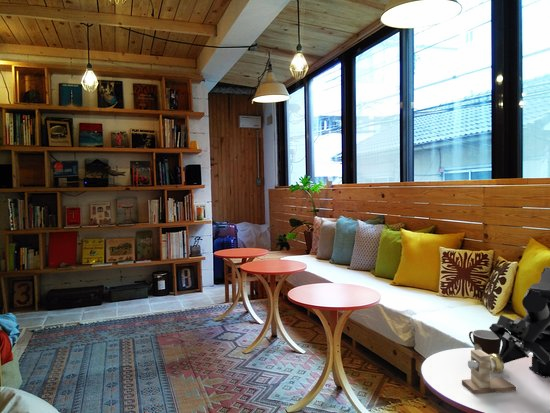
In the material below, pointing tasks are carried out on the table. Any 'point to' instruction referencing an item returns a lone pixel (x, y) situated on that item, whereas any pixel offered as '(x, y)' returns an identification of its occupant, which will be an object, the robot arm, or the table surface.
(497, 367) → the shaft
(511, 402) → the table surface
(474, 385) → the bearing stand
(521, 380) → the table surface
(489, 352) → the coffee mug
